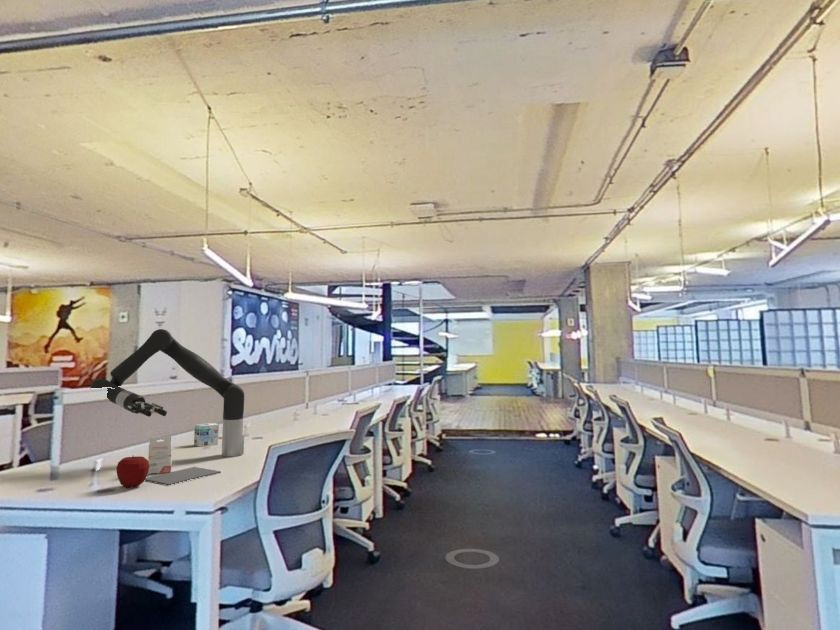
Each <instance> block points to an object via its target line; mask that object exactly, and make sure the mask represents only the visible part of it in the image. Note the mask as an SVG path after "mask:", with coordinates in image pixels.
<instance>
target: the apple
mask: <svg viewBox="0 0 840 630" xmlns="http://www.w3.org/2000/svg"><path fill="white" fill-rule="evenodd" d="M149 467H150V465H149V462H148V458H145V456H142V455H141V456H140V455H139V456H134V455H132V456H127V457H123V458H122V459H120V460H119V461H118V462H117V465H116V468H115V469H116V475H117V479H118V481H119V483H120V485H121V486H123V487H125V489H129V488H132V489H133V488H137V487H139V486H140V485H141V484H143V483H144V482H145V481H144V480H145V478H147V476H148V475H149V474H148V471H149Z"/></svg>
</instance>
